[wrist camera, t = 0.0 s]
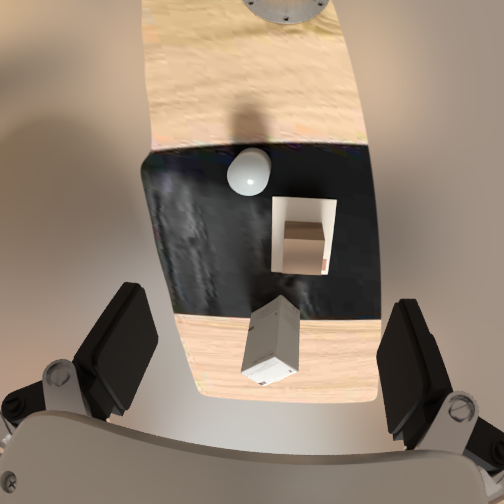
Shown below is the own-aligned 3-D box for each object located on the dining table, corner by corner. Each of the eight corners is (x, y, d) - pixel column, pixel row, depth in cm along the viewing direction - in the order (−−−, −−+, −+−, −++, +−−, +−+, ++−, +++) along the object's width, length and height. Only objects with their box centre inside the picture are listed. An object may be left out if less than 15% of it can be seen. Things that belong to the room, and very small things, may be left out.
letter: (272, 196, 47) (272, 196, 47) (336, 199, 46) (336, 200, 46) (271, 271, 54) (271, 271, 54) (327, 273, 53) (327, 274, 53)
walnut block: (284, 220, 49) (283, 238, 44) (322, 222, 48) (325, 240, 43) (283, 252, 52) (282, 273, 47) (318, 254, 51) (320, 275, 46)
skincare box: (281, 293, 57) (275, 354, 44) (301, 311, 58) (301, 372, 46) (249, 313, 60) (238, 373, 48) (270, 330, 62) (263, 389, 49)
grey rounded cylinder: (234, 147, 44) (226, 156, 39) (271, 147, 43) (268, 156, 38) (235, 181, 46) (228, 195, 41) (271, 182, 46) (268, 196, 41)
